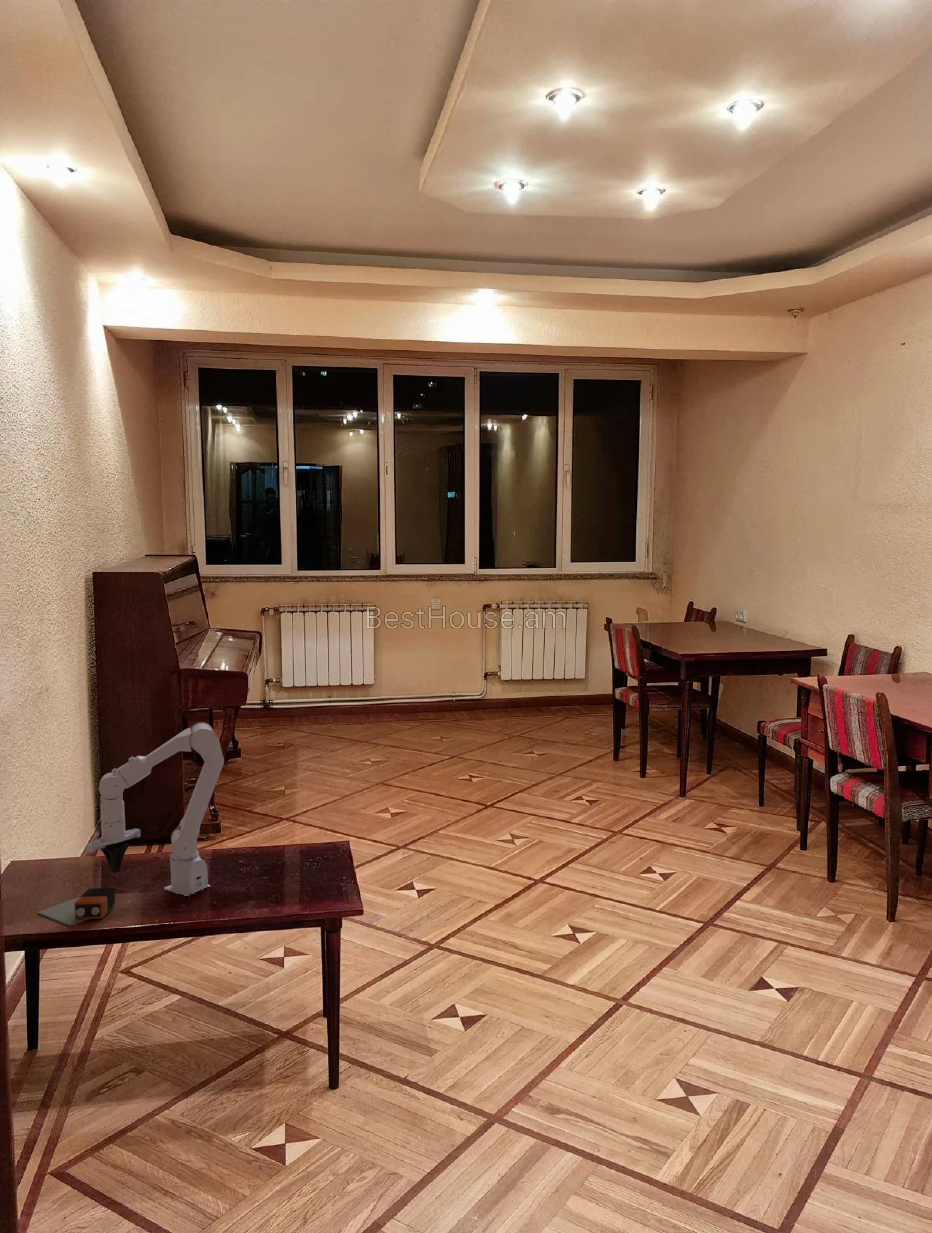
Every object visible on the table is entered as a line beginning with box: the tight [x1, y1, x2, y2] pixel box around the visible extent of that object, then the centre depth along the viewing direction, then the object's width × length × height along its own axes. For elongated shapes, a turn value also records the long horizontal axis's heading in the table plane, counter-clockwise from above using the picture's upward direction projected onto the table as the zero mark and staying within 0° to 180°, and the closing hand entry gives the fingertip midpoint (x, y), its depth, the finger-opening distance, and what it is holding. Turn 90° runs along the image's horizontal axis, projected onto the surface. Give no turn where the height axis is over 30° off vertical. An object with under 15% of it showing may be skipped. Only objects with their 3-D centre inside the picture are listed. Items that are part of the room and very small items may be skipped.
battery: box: [74, 887, 116, 920], centre depth 214 cm, size 4×7×10 cm
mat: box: [37, 896, 112, 927], centre depth 216 cm, size 14×11×1 cm
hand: (115, 871), depth 224 cm, fingers closed
